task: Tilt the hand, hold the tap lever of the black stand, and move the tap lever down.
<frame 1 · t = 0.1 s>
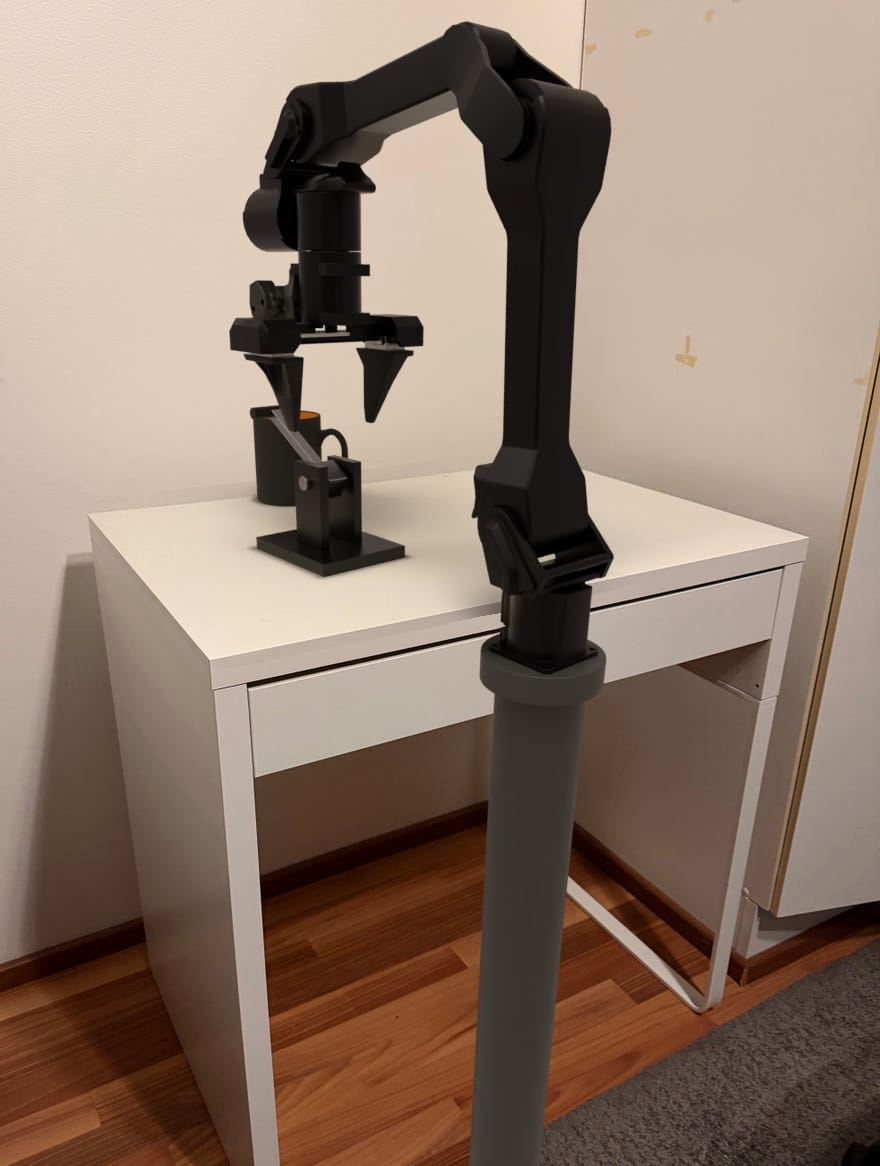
hand: (332, 427, 85), 12 cm above the table, tool pointing down, fingers open, 9 cm apart
mug: (303, 500, 110), on the table
tap lever: (301, 447, 88), point 10 cm above the table, hinge at 30.0°
black stand: (329, 552, 89), on the table
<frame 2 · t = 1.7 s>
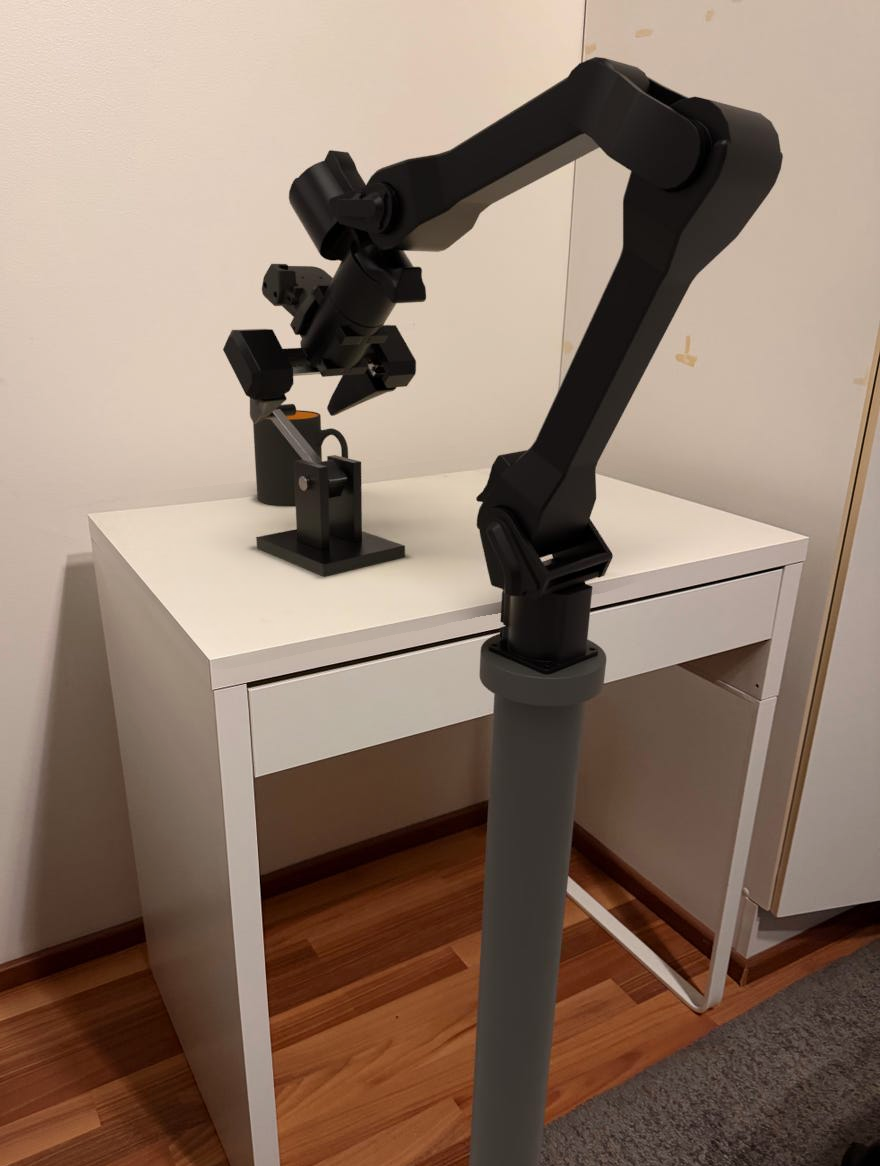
hand: (293, 416, 88), 13 cm above the table, tool tilted 45°, fingers open, 9 cm apart
nothing on the table moved.
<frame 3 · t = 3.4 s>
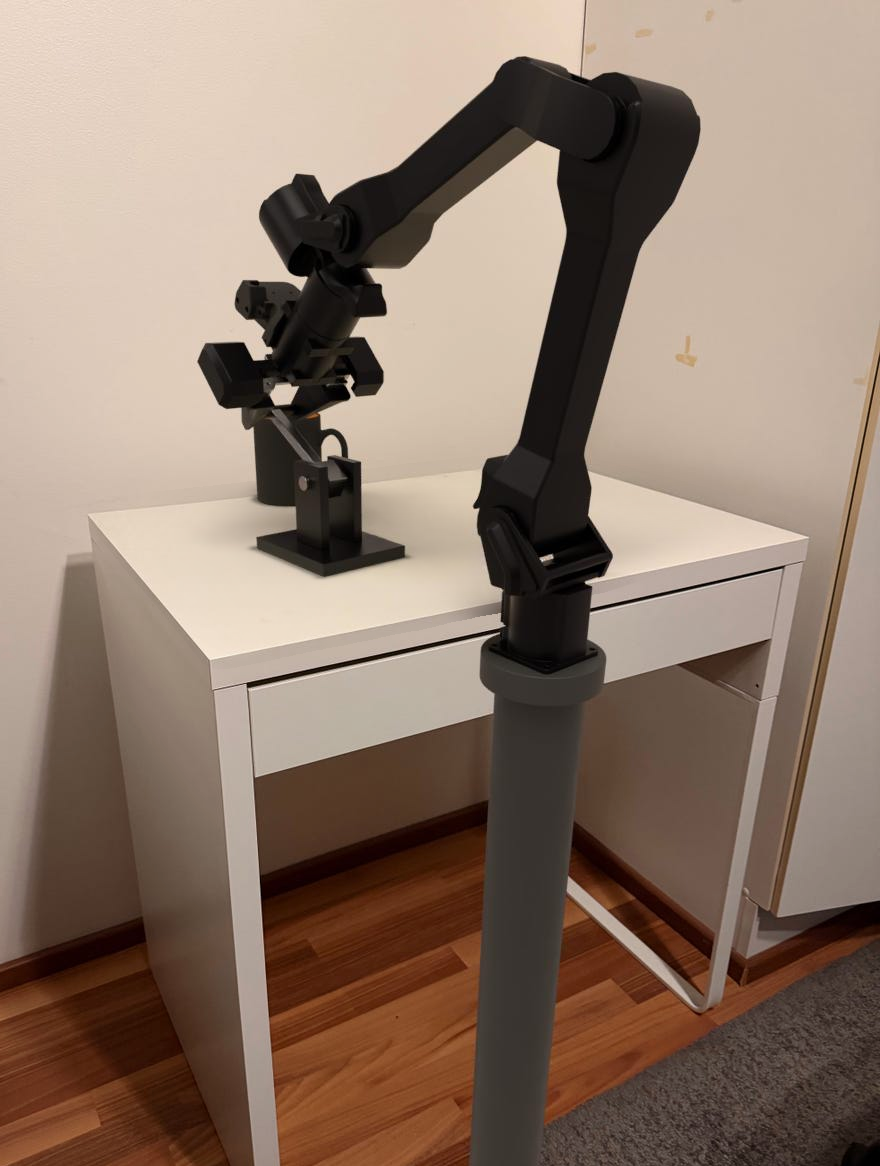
hand: (267, 423, 92), 12 cm above the table, tool tilted 45°, fingers closed on tap lever, 5 cm apart
tap lever: (301, 447, 88), point 10 cm above the table, hinge at 30.0°, touching gripper
everything else where it was.
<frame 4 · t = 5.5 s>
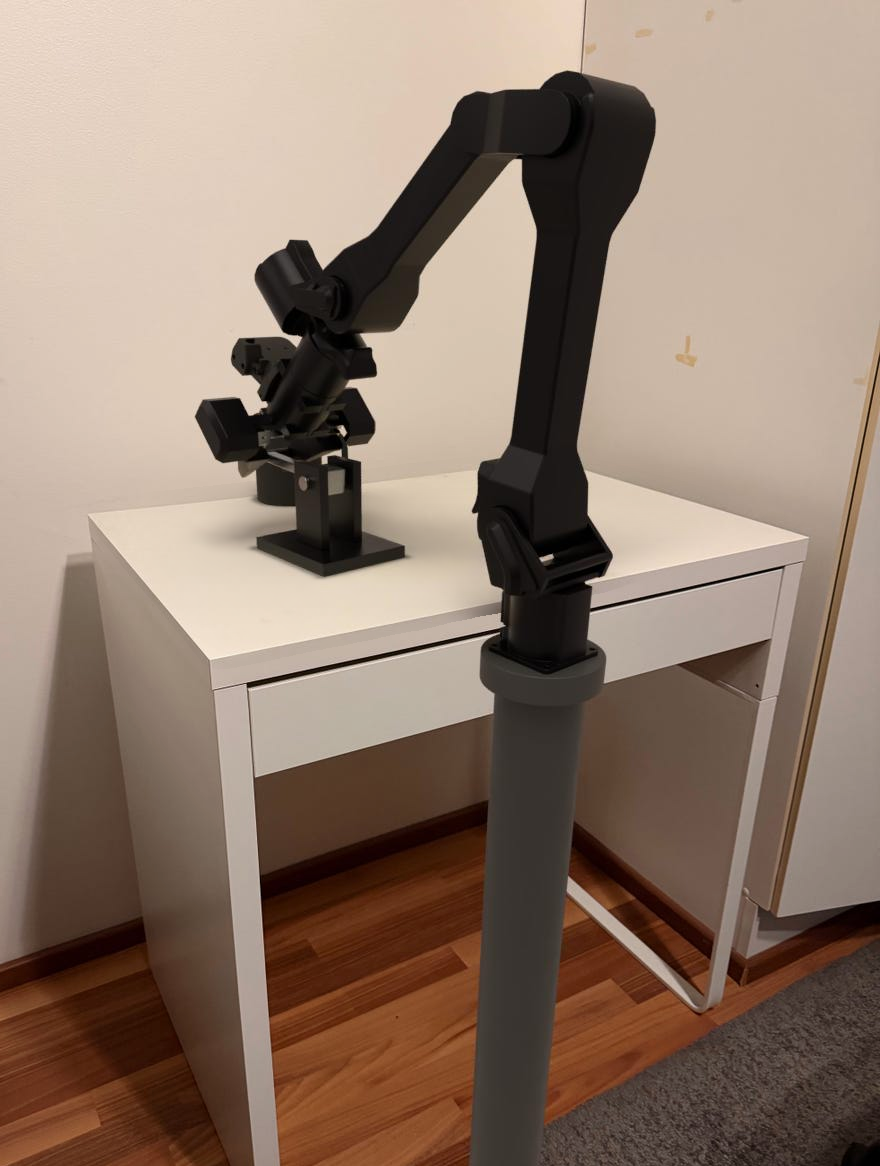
hand: (262, 470, 95), 6 cm above the table, tool tilted 45°, fingers closed on tap lever, 5 cm apart
tap lever: (299, 468, 89), point 8 cm above the table, hinge at 3.6°, touching gripper
everything else where it was.
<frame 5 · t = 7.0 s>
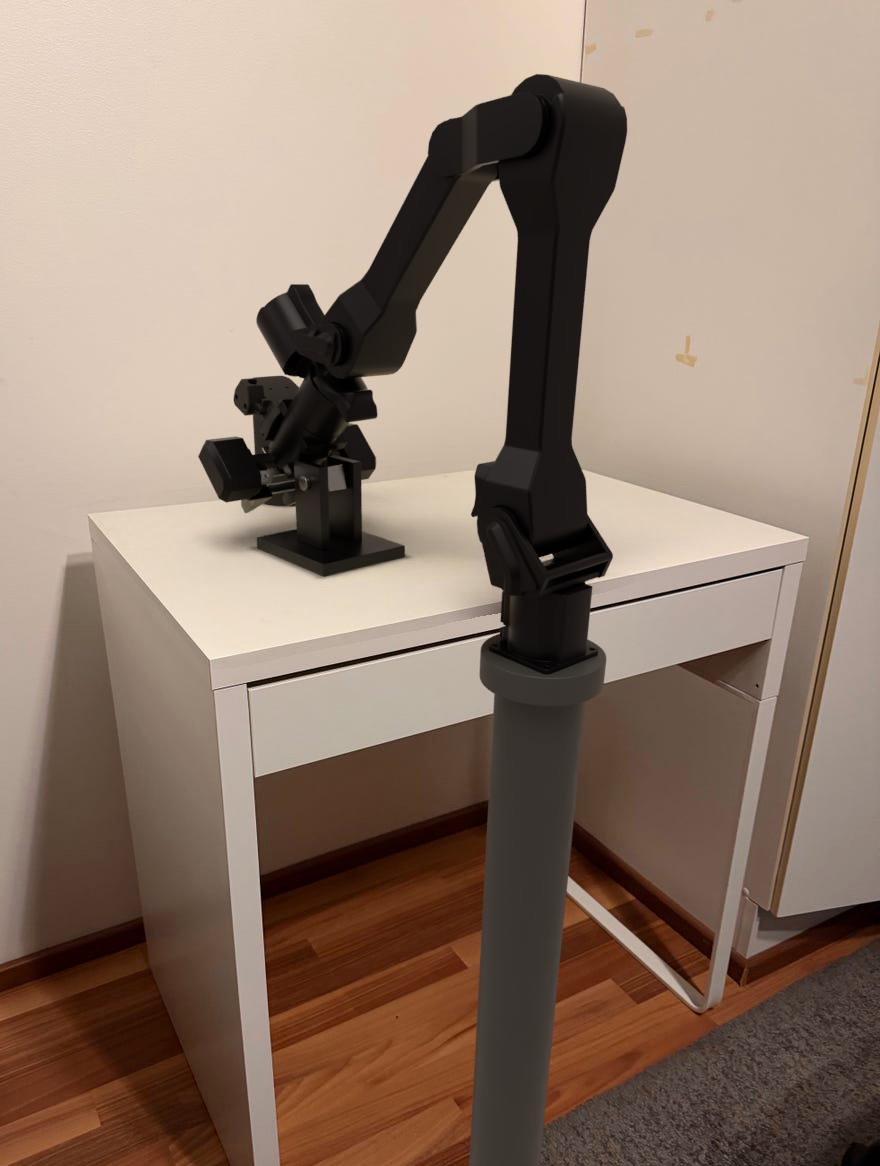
hand: (265, 505, 96), 3 cm above the table, tool tilted 45°, fingers open, 5 cm apart
tap lever: (300, 484, 90), point 6 cm above the table, hinge at -14.9°
everything else where it was.
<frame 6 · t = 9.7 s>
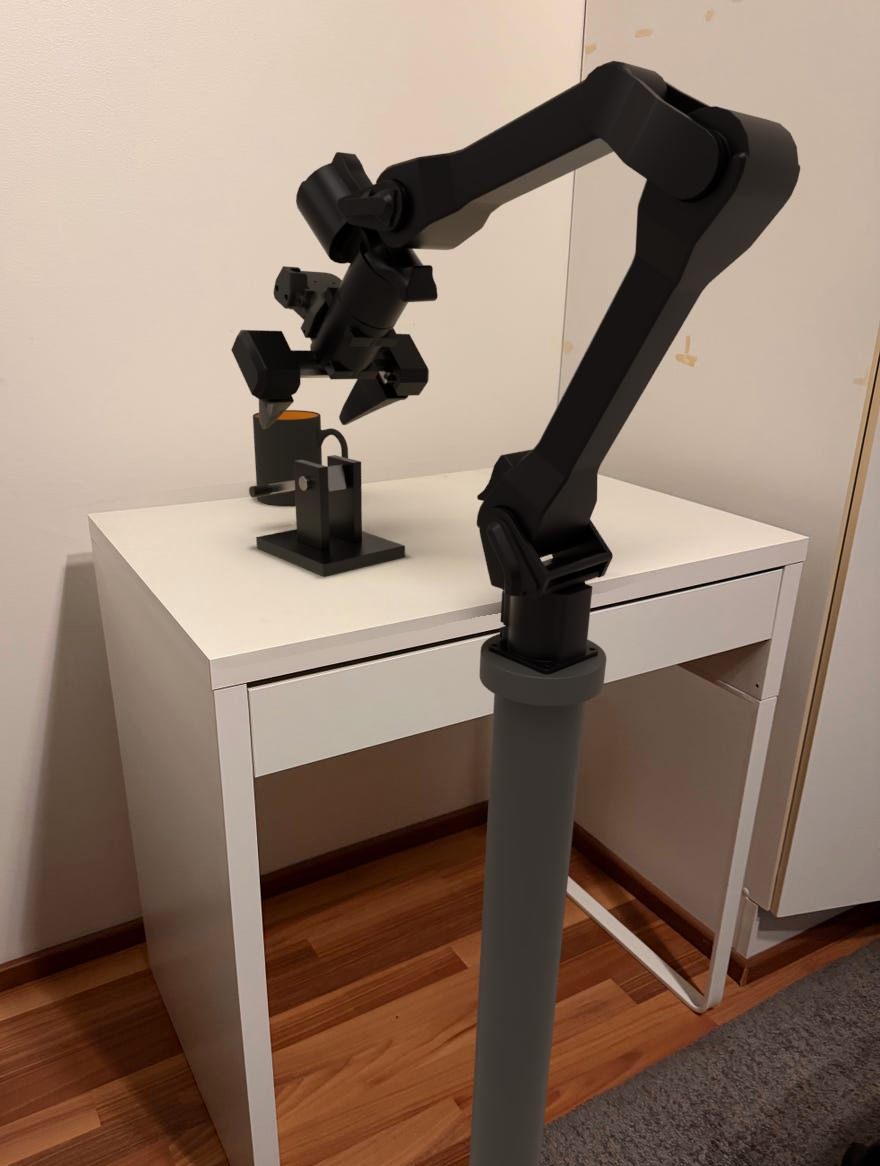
hand: (303, 423, 87), 12 cm above the table, tool tilted 45°, fingers open, 9 cm apart
nothing on the table moved.
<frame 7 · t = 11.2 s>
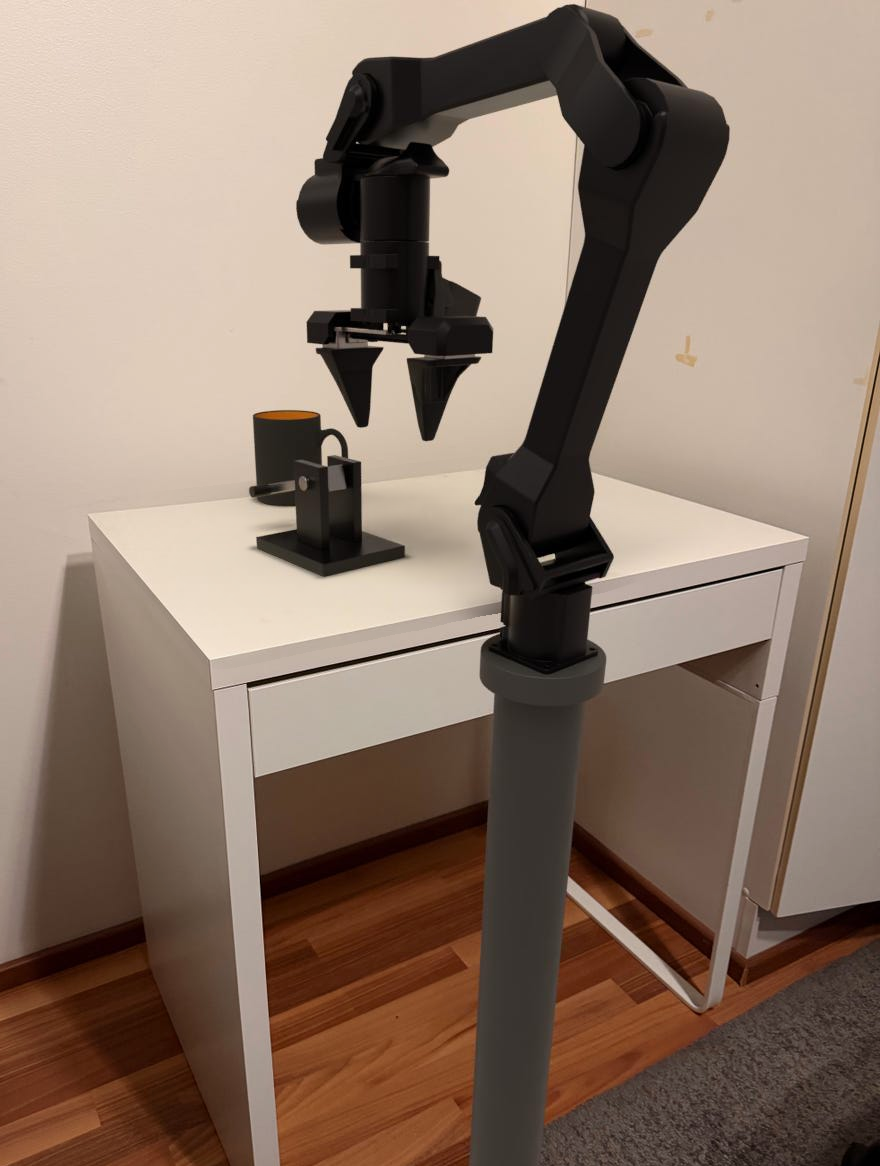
hand: (393, 433, 78), 13 cm above the table, tool pointing down, fingers open, 9 cm apart
nothing on the table moved.
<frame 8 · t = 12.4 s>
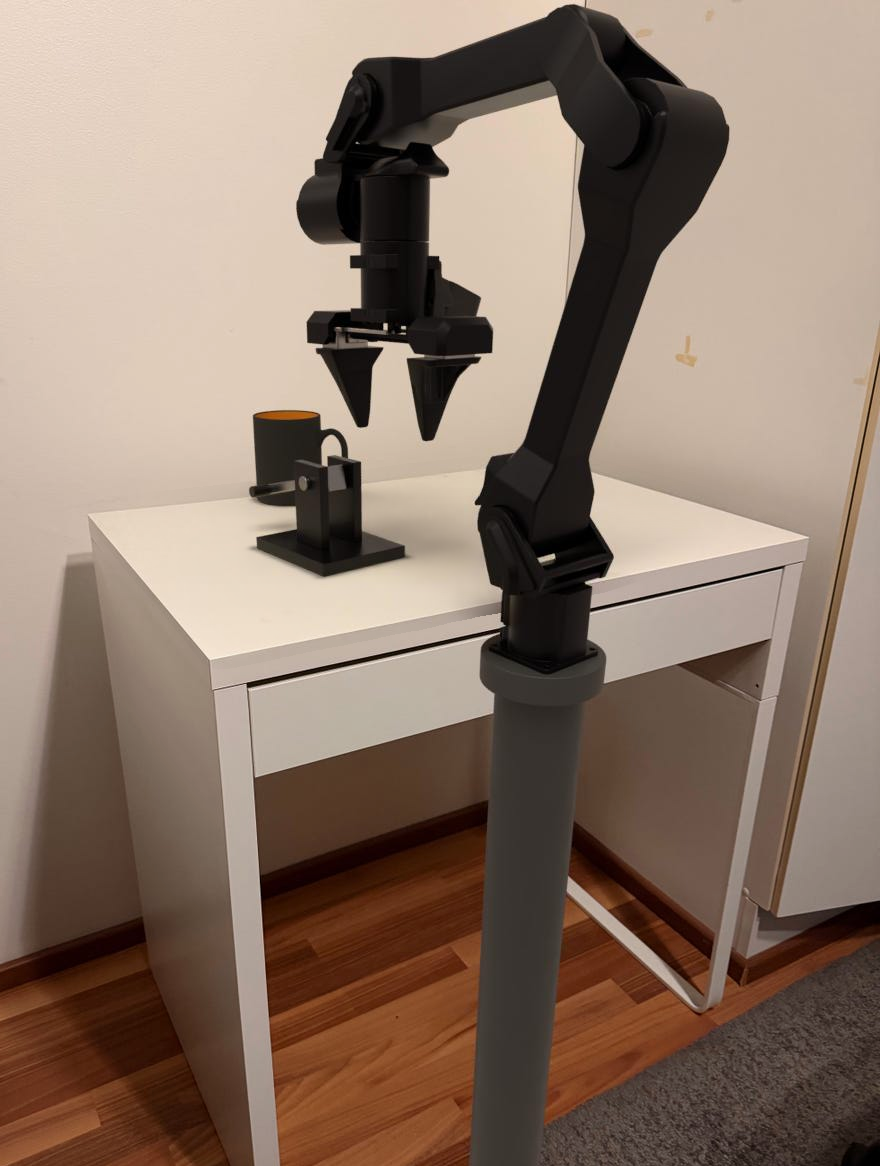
hand: (394, 433, 78), 13 cm above the table, tool pointing down, fingers open, 9 cm apart
nothing on the table moved.
at the end: tap lever at -15° (first picture: +30°); mug moved 0.2 cm from its start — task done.
